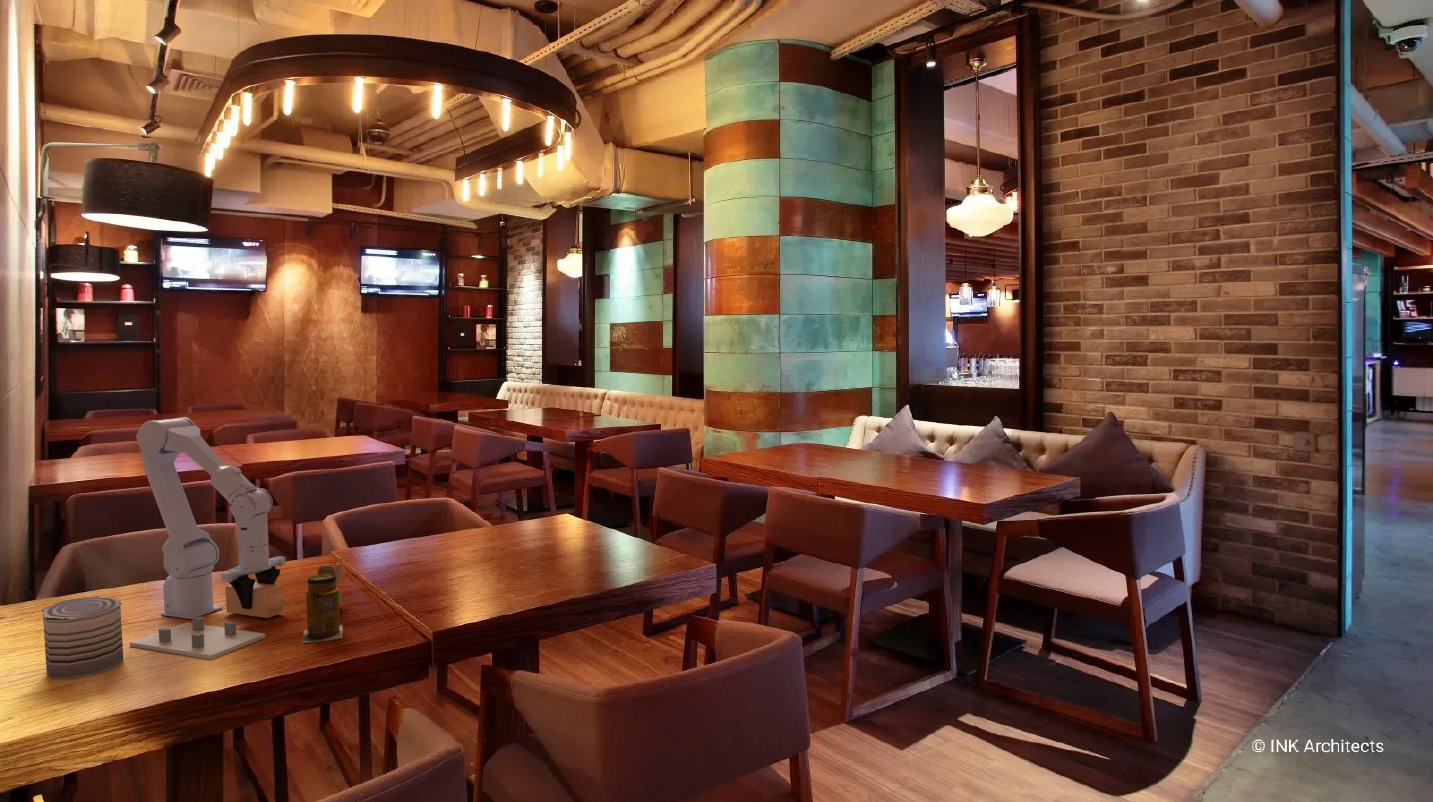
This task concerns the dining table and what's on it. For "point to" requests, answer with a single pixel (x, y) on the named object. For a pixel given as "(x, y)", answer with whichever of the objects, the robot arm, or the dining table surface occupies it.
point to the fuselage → (257, 601)
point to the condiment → (322, 609)
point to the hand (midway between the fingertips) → (256, 605)
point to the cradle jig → (198, 639)
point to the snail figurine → (332, 572)
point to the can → (82, 637)
